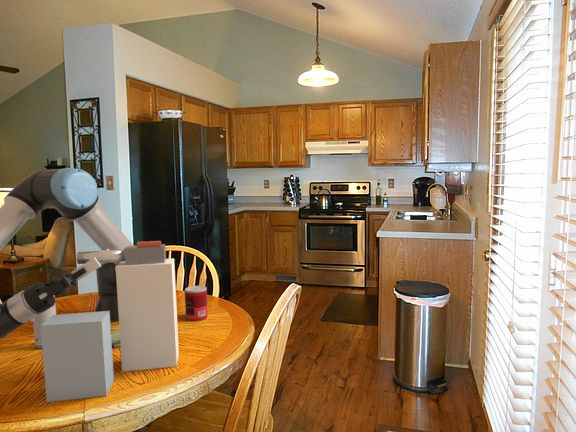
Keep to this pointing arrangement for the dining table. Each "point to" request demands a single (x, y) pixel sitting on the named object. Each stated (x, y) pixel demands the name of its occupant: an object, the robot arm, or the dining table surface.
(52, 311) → the travel mug
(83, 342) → the low stand
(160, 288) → the tall stand
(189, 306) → the canned food
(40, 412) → the dining table surface
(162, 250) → the grey piece
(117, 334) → the washcloth
